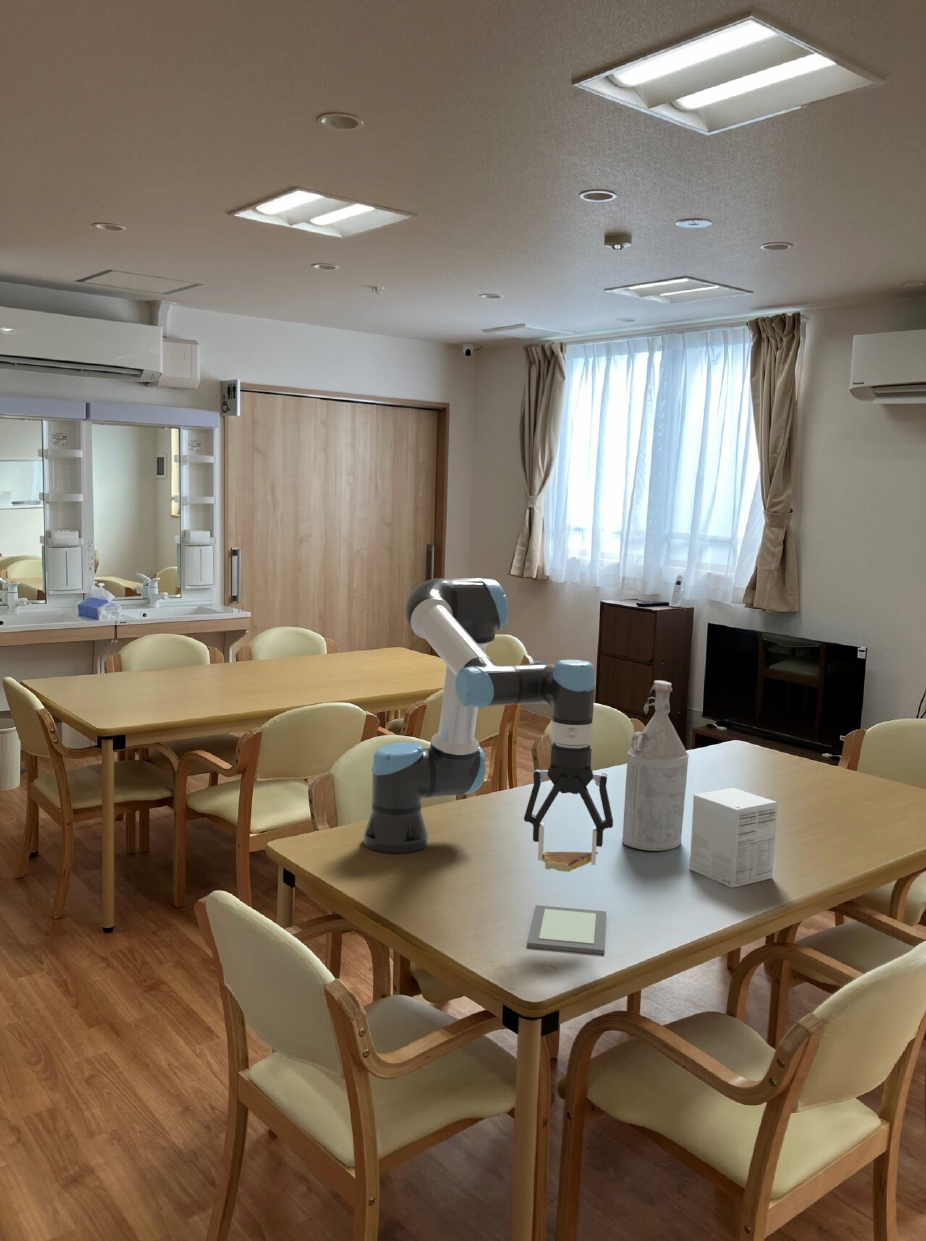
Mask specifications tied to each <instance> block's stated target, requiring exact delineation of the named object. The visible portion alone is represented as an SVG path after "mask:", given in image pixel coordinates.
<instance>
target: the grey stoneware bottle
mask: <svg viewBox="0 0 926 1241" xmlns="http://www.w3.org/2000/svg"><path fill="white" fill-rule="evenodd" d="M672 685H673V684H672V682H668V681H666V680H659V679H658V680H657V679H656V680H654V681H653V685H652V687H651V689H650V690H649V691H650V692H649V694H651V692H652V691H655V697H654V696H651V697H648V700H650V699H652V700H653V699H654V700H655V701H654V702H650V701H647V702H645V704H644V707H643V711H644V714H646V715H648V713H649V710H650V708H649V707H650V706H654V709H655V711H654V714H653V716H652V717H651V719H650V720H649V721H648V723H647V724H646V726H645V727H644V729H643V730H642V731H640V730H639V731H636V732H634V733H633V735H632V736H631V742H632V743H630V744H631V747H630V749H629V750H628V751H627V756H626V758H627V760H626V777H625V788H624V790H625V793H624V807H623V808H624V809H623V825H622V838H621V839H622V843H623V844H624V845H625V846H628V847H631V848H633V849H638V850H641V851H650V852H651V851H652V852H655V851H656V852H660V851H668V850H673V849H675V848H677V847H679V846H680V845H681V844H682V834H683V824H684V823H683V822H684V812H685V810H684V809H685V801H686V800H685V799H686V798H685V797H686V788H687V777H688V766H689V758H690V755H689V753H688V751H687V750H686V748H685V746H684V744H683V742H682V740H681V738H680V736H679V735H678V733H677V731H676V729H675V727H674V725H673V723H672V721H671V720H670V718H669V715H668V714H670V712H671V706H670V705H671V704H670V694H671V692H673V688H672ZM649 702H650V703H649Z"/></svg>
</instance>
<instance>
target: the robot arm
mask: <svg viewBox="0 0 926 1241" xmlns="http://www.w3.org/2000/svg"><path fill="white" fill-rule="evenodd" d="M405 618H406V623H407V624H408V626H409V628H410V630H412V631H413V633H414V634H415V635H416V636H417V637H419V638H421V639H422V640H426V642H427V643H428V644H429V645H430V646H431V648H432V649H433V650H434V651H435V653H436V654H437V655H438V656H439V657H440V659H441V660H442V661H443V663H445V665H446V670H445V679H444V685H443V694H442V701H441V710H440V711H441V712H440V716H439V717H440V718H439V725H438V732H436V733H435V734H434V735H432V737H431V739H430V746H429V747H427V748H426V747H425V748H424V747H423V745H422V744H421V743H418V742H415V741H408V742H406V741H401V742H395V743H394V742H393V743H390V744H386V745H383V746H382V747H380V748H378V749H377V750H376V751H375V752H374V754H373V759H372V760H373V761H372V768H371V772H372V786H371V788H372V790H371V792H372V793H371V794H372V796H371V798H372V799H371V813H370V815H369V817H368V821H367V824H366V827H365V830H364V832H363V844H364V846H365V847H366V848H368V849H370V850H372V851H376V852H379V853H380V852H381V853H388V854H403V853H404V854H406V853H412V852H416V851H420V850H422V849H424V848H426V847H427V846H428V843H429V835H428V834H429V833H428V830H427V826H426V822H425V819H424V816H423V812H422V800H423V799H428V798H438V797H447V796H448V797H449V796H458V797H459V796H464V795H468V794H472V793H474V792H476V791H478V790H479V789H480V787H481V786H482V784H483V783H484V780H485V776H486V771H487V767H486V766H487V764H486V755H485V753H484V750H483V749H482V747H481V746H480V743H479V741H478V739H477V738H475V734H476V732H475V731H476V727H477V726H476V724H477V718H478V711H479V708H485V707H495V706H497V707H498V706H499V707H500V706H510V705H511V706H513V705H514V706H515V705H517V706H519V705H531V704H532V705H533V704H547V705H549V706H551V707H552V718H551V742H553V743H552V744H551V746H550V766H549V768H548V769H547V770H546V769H542V770H541V769H539V768H535V769H534V772H533V774H532V775H533V776H532V777H533V785H532V788H531V793H530V796H529V800H528V803H527V806H526V810H525V813H524V817H523V820H524V822H526V823H530V824H531V825H532V827H533V828H532V829H533V830H532V840H533V842H535V843H538V846H537V847H538V850H537V851H538V852H537V854H538V855H537V861H542V859H543V853H544V844H545V843H544V841H545V840H544V838H545V837H544V836H545V822H542V821H543V819H544V817H545V816H546V814H547V813H548V811H549V809H550V807H551V805H552V804H553V802H554V801H555V799H556V798H557V796H558V794H559V793H561V794H573V795H579V796H580V798H581V799H582V801H583V803H584V805H585V806H586V809H587V811H588V814H589V816H590V817H591V819H592V821H593V824H594V826H593V827H592V835H591V837H592V839H591V852H592V859H591V862H590V864H591V866H596V860H597V858H596V857H597V854H596V852H597V847H602V846H603V842H604V841H603V840H604V839H603V838H604V831H605V829H612V828H613V826H614V818H613V815H612V809H611V803H610V799H609V795H608V790H607V782H608V781H607V780H608V775H607V774H606V773H601V774H599V773H596V772H595V773H594V772H593V770H592V745H590V744H591V743H593V728H594V727H593V726H594V724H593V723H594V722H593V718H594V704H595V702H594V701H595V687H596V681H595V667H594V665H593V663H591V662H590V661H587V660H579V659H561V660H558V661H556V662H555V663H550V662H547V661H532V662H529V663H528V664H522V665H521V664H519V665H516V664H515V665H497V664H496V663H495V662H494V661H493V660H492V659H491V658H490V657H489V655H487V648H488V646H489V645H490V644H491V643H494V641H495V639H496V638H495V637H496V632H497V631H500V630H503V629H504V628H505V626H506V625H507V623H508V619H509V606H508V599H507V596H506V593H505V590H504V589H503V587H502V585H501V584H500V583H499V582H498V581H497V580H495V579H492V578H481V577H476V578H474V577H473V578H472V577H471V578H463V577H462V578H433V579H432V578H431V579H428V580H426V581H424V582H421V583H420V584H419V585H417V586H416V587H415V588H413V590H412V592H411V593H410V595H409V597H408V598H407V601H406V603H405ZM547 777H548V778H549V780H550V781H551V783H552V784H553V786H552V787H551V789H550V792H549V793H548V795H547V796H546V797H545V800H544V802H543V803H542V805H541V807H540V808H539V810H538V812H537V813H536V815H534V814H533V812H534V807H535V805H536V802H537V798H538V794H539V791H540V788H541V784H542V783H544V782H545V780H546V778H547ZM592 780H593V781H594V782H595V785H596V786H597V787H598V788H599V796H600V800H601V805H602V810H603V814H604V819H602V817H601V816H600V813H599V811H598V809H597V806H596V804H595V803H594V800H593V799H592V796H591V794H590V793H589V789H588V787H587V786H588V785H589V784H590V783H591V781H592ZM542 862H543V861H542Z"/></svg>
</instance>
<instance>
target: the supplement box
mask: <svg viewBox="0 0 926 1241" xmlns="http://www.w3.org/2000/svg"><path fill="white" fill-rule="evenodd" d="M777 813H778V801H775V800H773V799H769V798H767V797H766V798H765V797H763V796H759V795H757V794H754V793H751V792H748V791H745V790H742V789H739V788H735V787H730V788H724V789H718V790H711V791H707V792H700V793H694V794H693V801H692V818H691V819H692V822H691V838H690V854H689V855H690V857H689V870H690V871H693V872H695V873H697V874H699V875H702V876H704V877H706V878H708V879H710V880H713V881H715V882H718V883H720V884H722V885H725V886H727V887H729V888H731V889H734V888H738V887H743V886H746V885H751V884H755V883H757V882H761V881H766V880H770V879H773V872H774V862H775V861H774V858H775V845H776V844H775V843H776V842H775V841H776V829H777V827H776V826H777V816H778V814H777Z"/></svg>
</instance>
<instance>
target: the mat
mask: <svg viewBox="0 0 926 1241" xmlns="http://www.w3.org/2000/svg"><path fill="white" fill-rule="evenodd" d="M533 911H534V913H533V916H532V921H531V924H530V925H531V926H530V928H529V933H528V939H527V942H526V947H527V948H536V949H546V950H554V951H555V950H557V951H566V952H577V953H587V954H597V955H605V949H606V948H605V947H606V945H605V944H606V929H607V928H606V926H607V911H606V910H605V911H604V910H597V909H596V910H595V909H594V910H593V909H583V908H572V907H561V906H560V907H559V906H550V905H539V904H537V905H535V908H534V910H533Z"/></svg>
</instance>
